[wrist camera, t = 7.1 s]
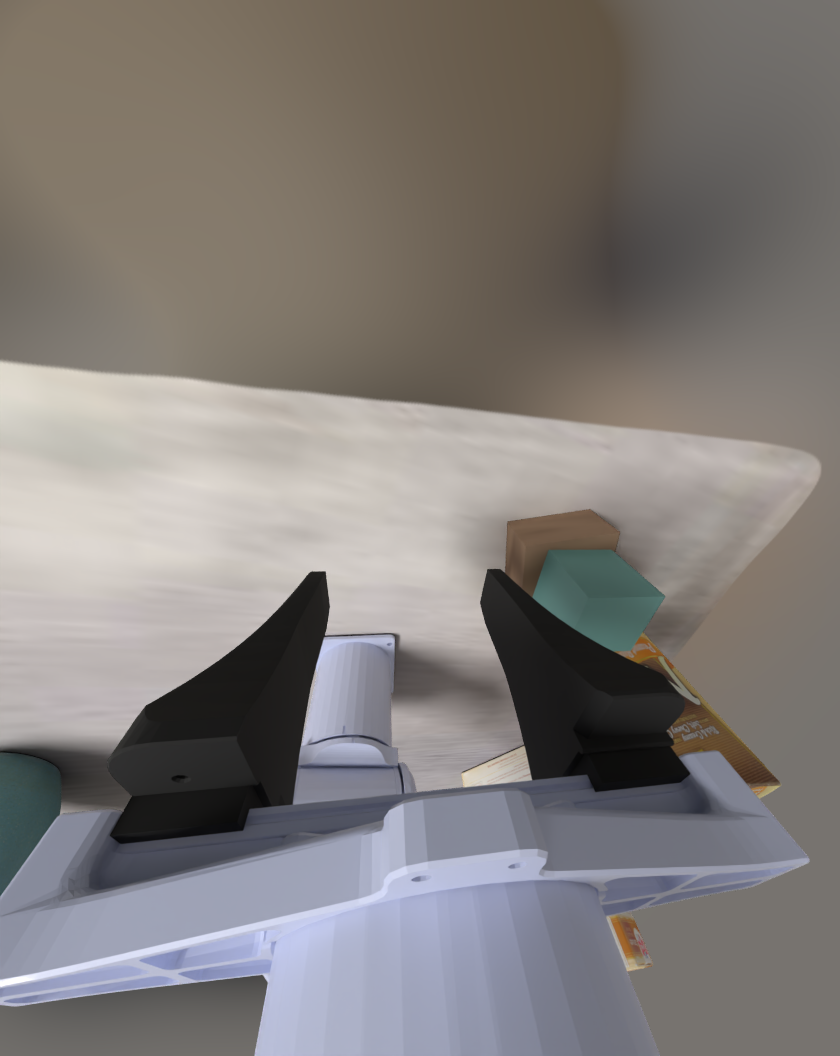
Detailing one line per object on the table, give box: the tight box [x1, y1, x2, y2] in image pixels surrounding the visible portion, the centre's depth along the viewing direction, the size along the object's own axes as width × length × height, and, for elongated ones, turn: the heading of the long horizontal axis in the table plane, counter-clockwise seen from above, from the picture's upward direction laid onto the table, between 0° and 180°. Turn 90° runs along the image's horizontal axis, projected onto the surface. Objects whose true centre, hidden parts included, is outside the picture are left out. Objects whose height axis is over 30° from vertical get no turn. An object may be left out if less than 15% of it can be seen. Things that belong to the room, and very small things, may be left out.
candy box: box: [615, 632, 781, 798], centre depth 24 cm, size 9×4×15 cm, turn 81°
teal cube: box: [532, 550, 665, 652], centre depth 21 cm, size 5×5×5 cm
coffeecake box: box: [461, 746, 653, 972], centre depth 39 cm, size 15×7×20 cm, turn 127°
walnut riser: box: [505, 509, 620, 597], centre depth 25 cm, size 7×7×4 cm
